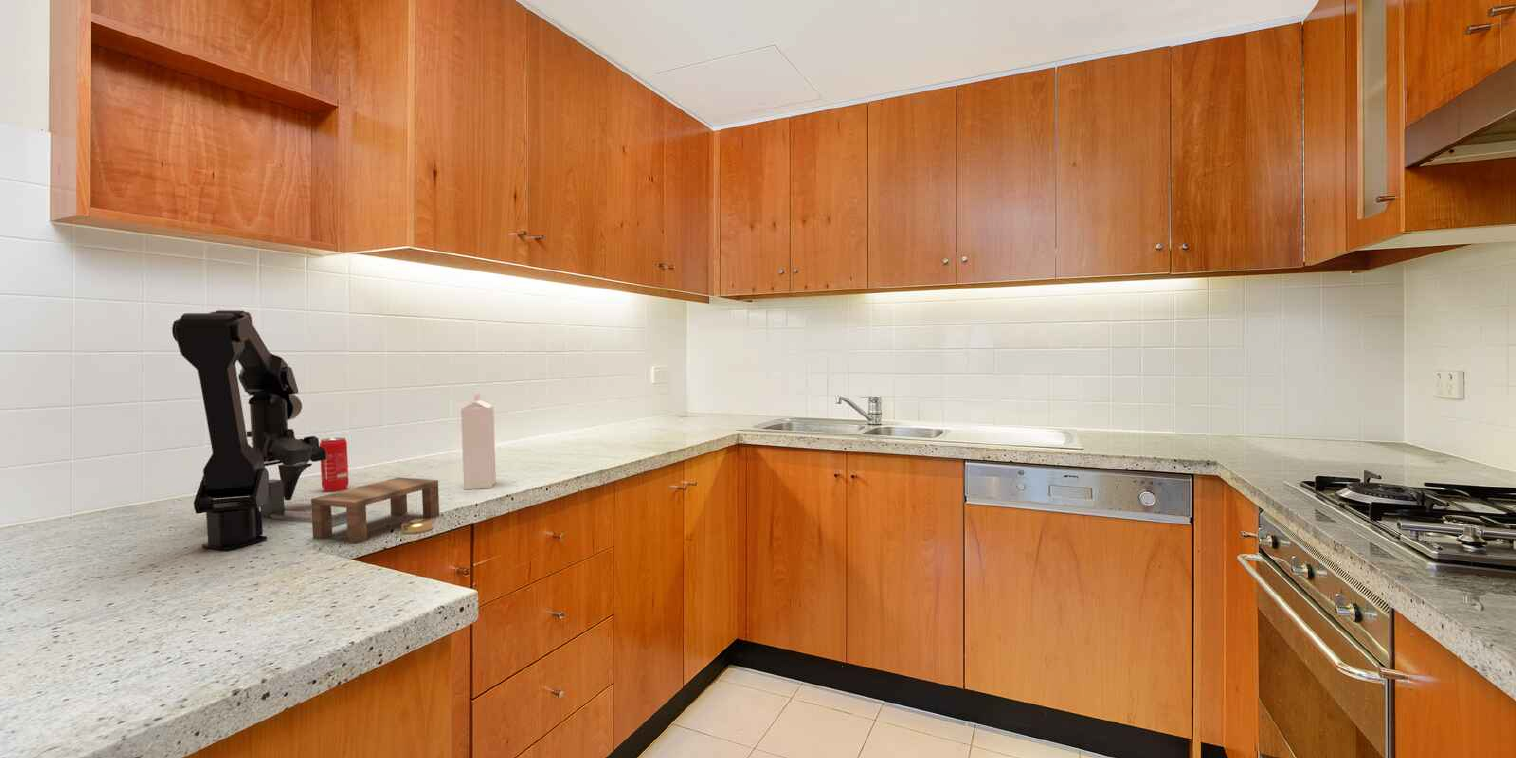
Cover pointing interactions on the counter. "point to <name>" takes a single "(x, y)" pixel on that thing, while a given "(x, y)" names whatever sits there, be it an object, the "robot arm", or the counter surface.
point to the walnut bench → (367, 495)
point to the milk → (478, 444)
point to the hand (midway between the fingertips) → (274, 503)
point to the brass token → (417, 526)
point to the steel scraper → (277, 511)
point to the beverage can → (334, 465)
